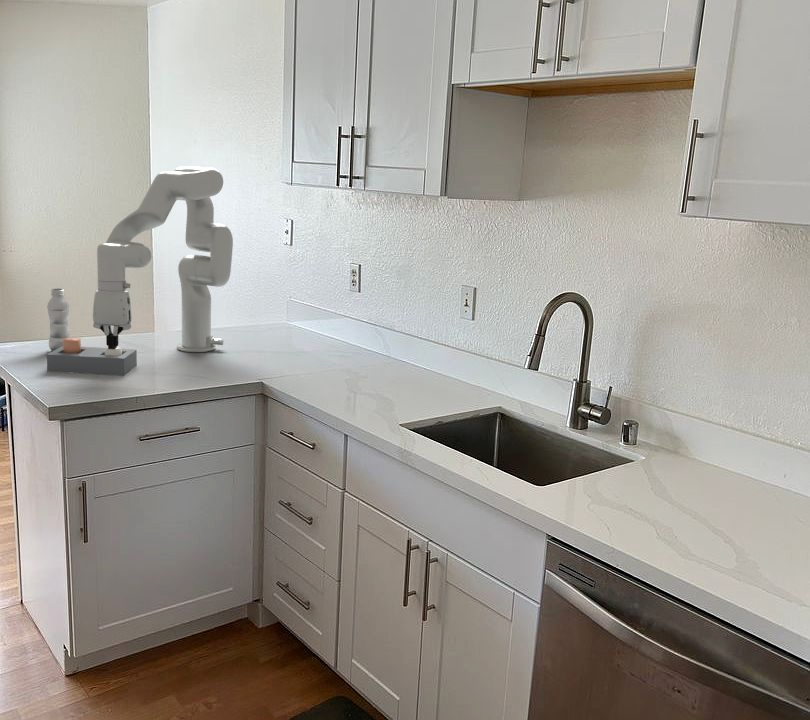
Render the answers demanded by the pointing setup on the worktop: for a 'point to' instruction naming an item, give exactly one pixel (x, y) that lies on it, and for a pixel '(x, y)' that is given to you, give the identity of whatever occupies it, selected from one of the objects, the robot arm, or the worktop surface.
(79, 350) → the terracotta button
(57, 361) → the grey two-hole block
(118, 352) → the ivory button
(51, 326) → the plastic bottle
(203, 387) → the worktop surface
